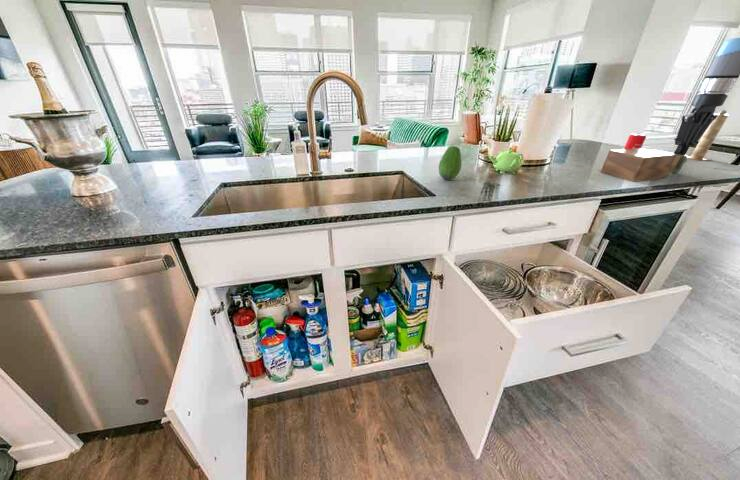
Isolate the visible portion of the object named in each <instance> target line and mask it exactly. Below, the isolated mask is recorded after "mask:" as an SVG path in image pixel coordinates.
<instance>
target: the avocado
mask: <svg viewBox="0 0 740 480" xmlns="http://www.w3.org/2000/svg"><path fill="white" fill-rule="evenodd" d="M462 163H463V161H462V152H461V149H460V147H458V146H455V145H450V146H449V147H447V148H446V150H444V153H443V155H442V156H441V158H440V160H439V163H438V174H439V176H440V178H442V179H443V180H446V181H452V180H454V179H456V178H457V177H458V175H459V174H460V172H461V170H462Z"/></svg>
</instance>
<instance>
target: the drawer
mask: <svg viewBox="0 0 740 480" xmlns="http://www.w3.org/2000/svg"><path fill="white" fill-rule="evenodd" d="M651 150H652V151H658V152H663V153H668V154H674V155H677V156H676V157H675V159H674V161H673V163H672V165H671V167H670V169H669V170H668V172H667V174H666V175H679V174H680V172H681V170H682V169H683V166H684V164H685V163H687V161H688V158H687V157H688V156H689V155H686V154H685V155H680V154H675V153H674V152H669V151H663V150H658V149H651Z"/></svg>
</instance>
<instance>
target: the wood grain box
mask: <svg viewBox="0 0 740 480" xmlns="http://www.w3.org/2000/svg"><path fill="white" fill-rule="evenodd" d="M652 150H653V149H647V148H643V147H641V148H633V149H624V148H620V149H609V150H608V152H607V155H606V157H605V160H604V162H603V165H602V167H601V168H600V173H602V174H606V175H609V176H611V177H612V176H613V177H616V178H619V179H622V180H626V181H628V182H629V181H630V182H641V181H643V182H644V181H652V180H653V181H654V180H662V179H665V178H666V176H667V175H668V174H667V172H668V170H669V169H670V167H671V165H672V163H673V161H674V159H675V157H676V156H677V155H674V154H668V153H663V152H658V151H659V150H658V151H652Z"/></svg>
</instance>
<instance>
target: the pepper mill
mask: <svg viewBox="0 0 740 480" xmlns="http://www.w3.org/2000/svg"><path fill="white" fill-rule="evenodd" d="M713 114H714V115H717V117H716V119H715V120H714V121H713V122H712V123H711V124H710V125H709V127H708V128H707V129H706V131H705V132H704V134H703V135H702V136H701V138H700V139H699V140H698V142H697V143H696V144H697V145H696V146H695V148H694V149H693V151H692V154H691V155H690V156H691V157H690V158H694V159H703V158H705V157H706V155H707V153H708V152H709V150H710V148H711V146H712V145H713V143H714V141H715V140H716V138H717V136H718V135H719V133H720V131H721V129H722V128H723V126H724V124H725V122H727V121H726V120H727V119H728V118H729V116H730V114H728V112H727V110H726V109H722V110H720V111H719V112H718V113H713Z"/></svg>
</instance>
